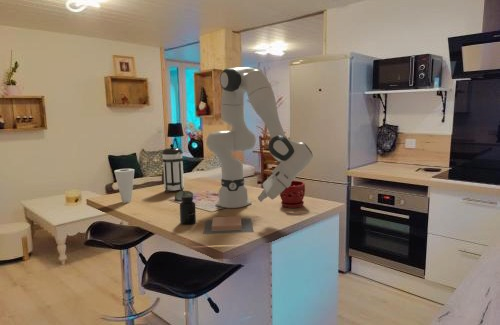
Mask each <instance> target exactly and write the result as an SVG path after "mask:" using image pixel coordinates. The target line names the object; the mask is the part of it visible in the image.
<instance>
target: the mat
mask: <svg viewBox="0 0 500 325" xmlns="http://www.w3.org/2000/svg"><path fill="white" fill-rule="evenodd" d="M212 222H213V219H206V221H205V224H204V228H203V233H202V234H203V235H208V234H210V235H211V234H212V235H213V234H236V233H254V226H253V220H252V218H251V217H250V218H241V228H242V230H224V231H212Z"/></svg>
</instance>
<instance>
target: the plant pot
mask: <svg viewBox="0 0 500 325" xmlns="http://www.w3.org/2000/svg"><path fill="white" fill-rule="evenodd" d="M305 186H306V184H305V182H304V181H300V180H293V181H292V182H291V185H290V186H289V187H288V188H287V187H286V188H285V190H284V191H283V192H281V193H280V194H279V197H280V199H281V202H280V205H282V206H283V207H284V208H285V207H286V208H289V209H291V208H292V209H294V208H297V207H298V208H300V207H302V206H303V205H304V204H305V201H304V198H305V192H306V187H305Z"/></svg>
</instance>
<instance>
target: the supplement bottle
mask: <svg viewBox="0 0 500 325" xmlns="http://www.w3.org/2000/svg"><path fill="white" fill-rule="evenodd" d="M193 197H194V195H193V196H191V195H185V196H182V201H180V203H179V216H180V217H179V221H180V222H179V223H180V224H181V225H185V226H189V225H194V224H195V223H196V222H197V221H196V220H197V215H196V211H197V210H196V203H195V201H193V200H194V198H193Z"/></svg>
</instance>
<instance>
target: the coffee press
mask: <svg viewBox="0 0 500 325" xmlns="http://www.w3.org/2000/svg"><path fill="white" fill-rule="evenodd" d="M183 154H184V152H183V150H182V149H181V148H179V147H175V145H174V144H173V143H170V145H169V147H168V148H164V149H163V150H162V152H161V155H162V159H161V160H162V168H163V169H162V170H163V184H164V193H165V194H168V193H169V191H170V192H171V191H178V192H180V191H184V189H185V185H184V184H185V183H184V182H185V181H184V179H185V178H184V165H183V164H184V163H183V160H184V157H183Z"/></svg>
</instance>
